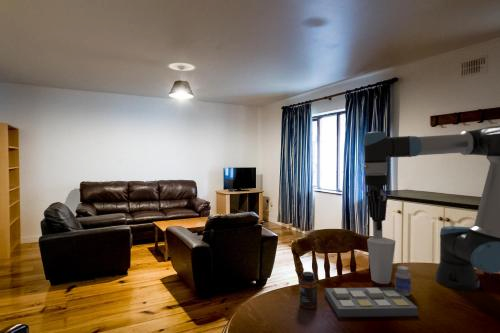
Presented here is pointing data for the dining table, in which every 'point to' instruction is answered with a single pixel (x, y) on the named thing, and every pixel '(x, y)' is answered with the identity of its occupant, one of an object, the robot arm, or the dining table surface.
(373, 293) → the button
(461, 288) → the robot arm
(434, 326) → the dining table surface
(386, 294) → the button
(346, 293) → the button
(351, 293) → the button
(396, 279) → the pill bottle
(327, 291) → the board
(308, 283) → the supplement bottle
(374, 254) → the cup
